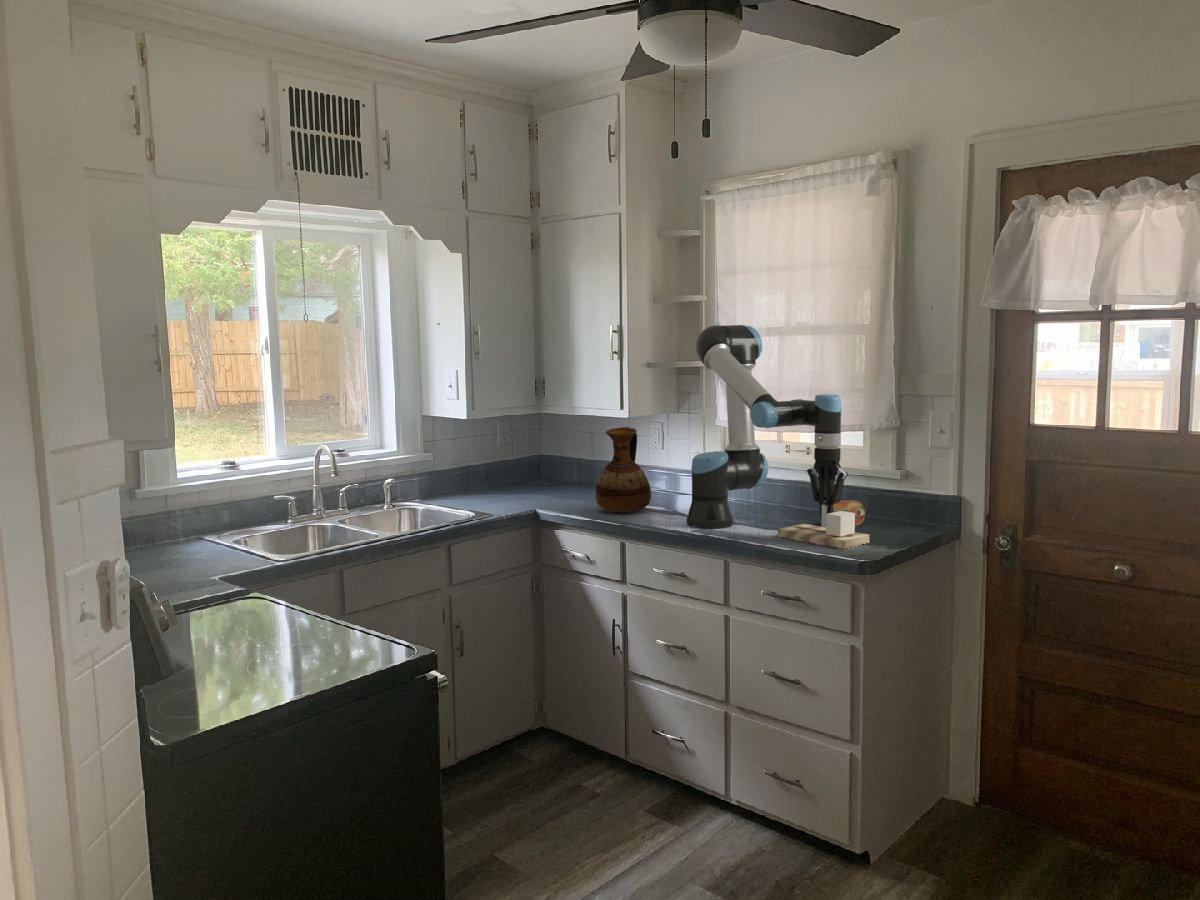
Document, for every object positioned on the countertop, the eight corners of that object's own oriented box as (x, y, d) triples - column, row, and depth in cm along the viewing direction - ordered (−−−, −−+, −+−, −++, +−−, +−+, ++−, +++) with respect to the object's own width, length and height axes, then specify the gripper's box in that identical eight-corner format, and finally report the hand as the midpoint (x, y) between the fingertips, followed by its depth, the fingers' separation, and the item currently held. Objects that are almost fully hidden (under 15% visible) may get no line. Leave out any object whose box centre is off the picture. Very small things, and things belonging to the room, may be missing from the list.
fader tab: (825, 534, 270) (826, 513, 269) (840, 530, 275) (840, 510, 274) (840, 536, 266) (840, 516, 266) (854, 533, 271) (854, 513, 270)
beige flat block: (777, 536, 281) (777, 528, 280) (802, 531, 288) (802, 523, 288) (844, 549, 263) (845, 540, 262) (869, 543, 270) (869, 534, 270)
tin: (825, 529, 292) (825, 502, 291) (820, 527, 295) (820, 501, 294) (866, 525, 296) (867, 499, 295) (861, 524, 299) (861, 498, 298)
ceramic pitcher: (588, 514, 323) (587, 429, 320) (605, 505, 342) (604, 424, 339) (642, 516, 317) (642, 430, 314) (656, 507, 336) (656, 425, 333)
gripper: (801, 446, 274) (800, 524, 277) (838, 449, 264) (837, 531, 267) (816, 444, 279) (815, 521, 281) (853, 447, 269) (852, 527, 272)
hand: (826, 526), depth 274 cm, fingers closed
